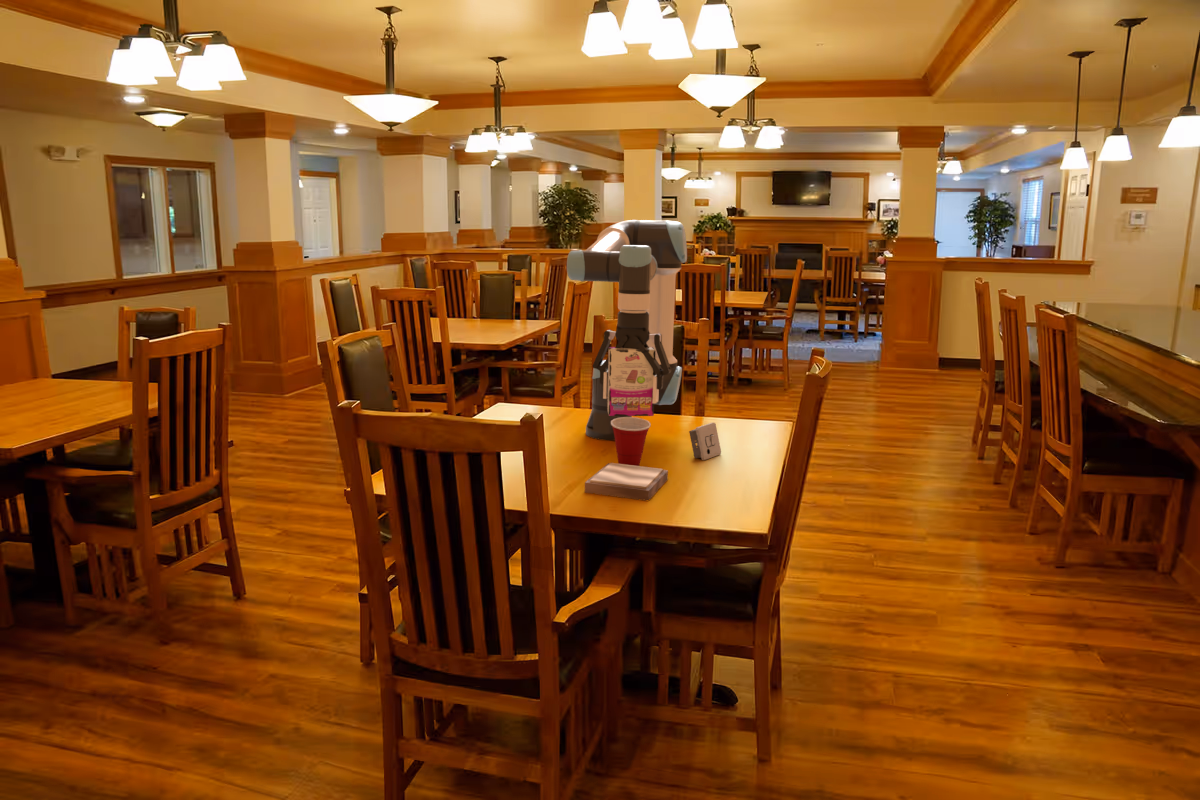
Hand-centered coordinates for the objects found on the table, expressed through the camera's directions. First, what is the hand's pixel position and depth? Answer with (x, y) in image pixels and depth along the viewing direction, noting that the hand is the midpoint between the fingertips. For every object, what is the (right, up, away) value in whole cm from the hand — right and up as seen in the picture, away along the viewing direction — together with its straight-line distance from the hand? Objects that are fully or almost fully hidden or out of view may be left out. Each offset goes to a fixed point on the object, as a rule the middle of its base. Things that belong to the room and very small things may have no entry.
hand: (630, 400), depth 207 cm
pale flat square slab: (-1, -21, +5) cm, 22 cm away
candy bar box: (0, -4, +1) cm, 4 cm away
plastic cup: (0, -18, +23) cm, 29 cm away
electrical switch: (+22, -16, +33) cm, 43 cm away
